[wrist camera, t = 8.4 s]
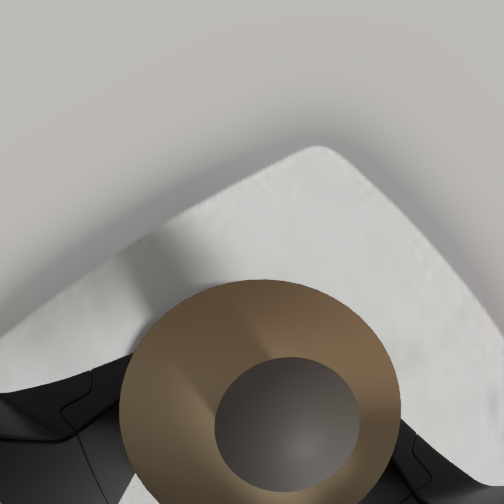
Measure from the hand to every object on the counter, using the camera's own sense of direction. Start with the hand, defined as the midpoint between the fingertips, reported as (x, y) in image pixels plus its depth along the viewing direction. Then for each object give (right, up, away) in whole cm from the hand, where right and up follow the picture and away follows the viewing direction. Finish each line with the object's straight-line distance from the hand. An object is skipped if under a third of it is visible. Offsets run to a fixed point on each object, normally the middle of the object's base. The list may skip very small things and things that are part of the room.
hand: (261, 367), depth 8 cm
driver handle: (-1, -4, +5) cm, 7 cm away
